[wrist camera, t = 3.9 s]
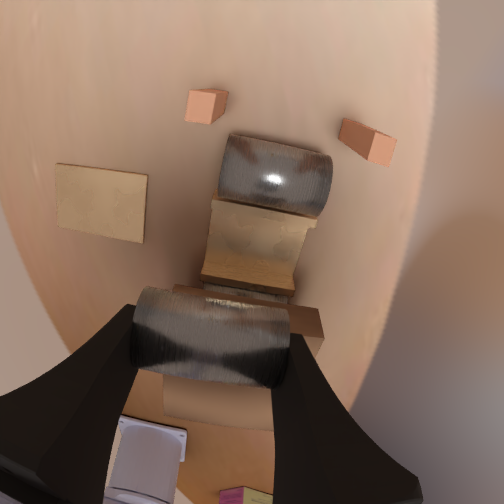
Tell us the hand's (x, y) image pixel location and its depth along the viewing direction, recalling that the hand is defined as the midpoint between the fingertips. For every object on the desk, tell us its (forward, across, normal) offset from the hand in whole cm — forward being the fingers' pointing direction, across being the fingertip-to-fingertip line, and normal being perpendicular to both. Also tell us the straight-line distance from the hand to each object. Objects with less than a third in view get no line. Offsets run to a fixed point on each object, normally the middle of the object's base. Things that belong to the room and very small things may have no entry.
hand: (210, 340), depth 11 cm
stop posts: (+9, -2, -7) cm, 12 cm away
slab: (+6, -2, +7) cm, 9 cm away
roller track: (+9, +4, +4) cm, 10 cm away
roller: (+1, 0, 0) cm, 1 cm away
